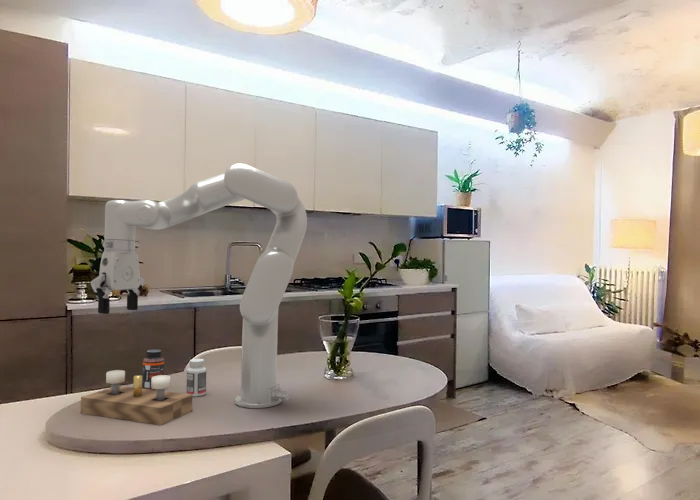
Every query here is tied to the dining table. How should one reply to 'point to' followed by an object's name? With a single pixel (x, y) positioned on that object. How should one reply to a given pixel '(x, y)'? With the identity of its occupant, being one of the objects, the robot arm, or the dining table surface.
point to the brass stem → (137, 386)
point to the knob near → (160, 386)
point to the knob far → (115, 380)
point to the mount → (137, 405)
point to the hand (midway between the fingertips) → (118, 311)
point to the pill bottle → (196, 378)
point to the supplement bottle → (152, 367)
